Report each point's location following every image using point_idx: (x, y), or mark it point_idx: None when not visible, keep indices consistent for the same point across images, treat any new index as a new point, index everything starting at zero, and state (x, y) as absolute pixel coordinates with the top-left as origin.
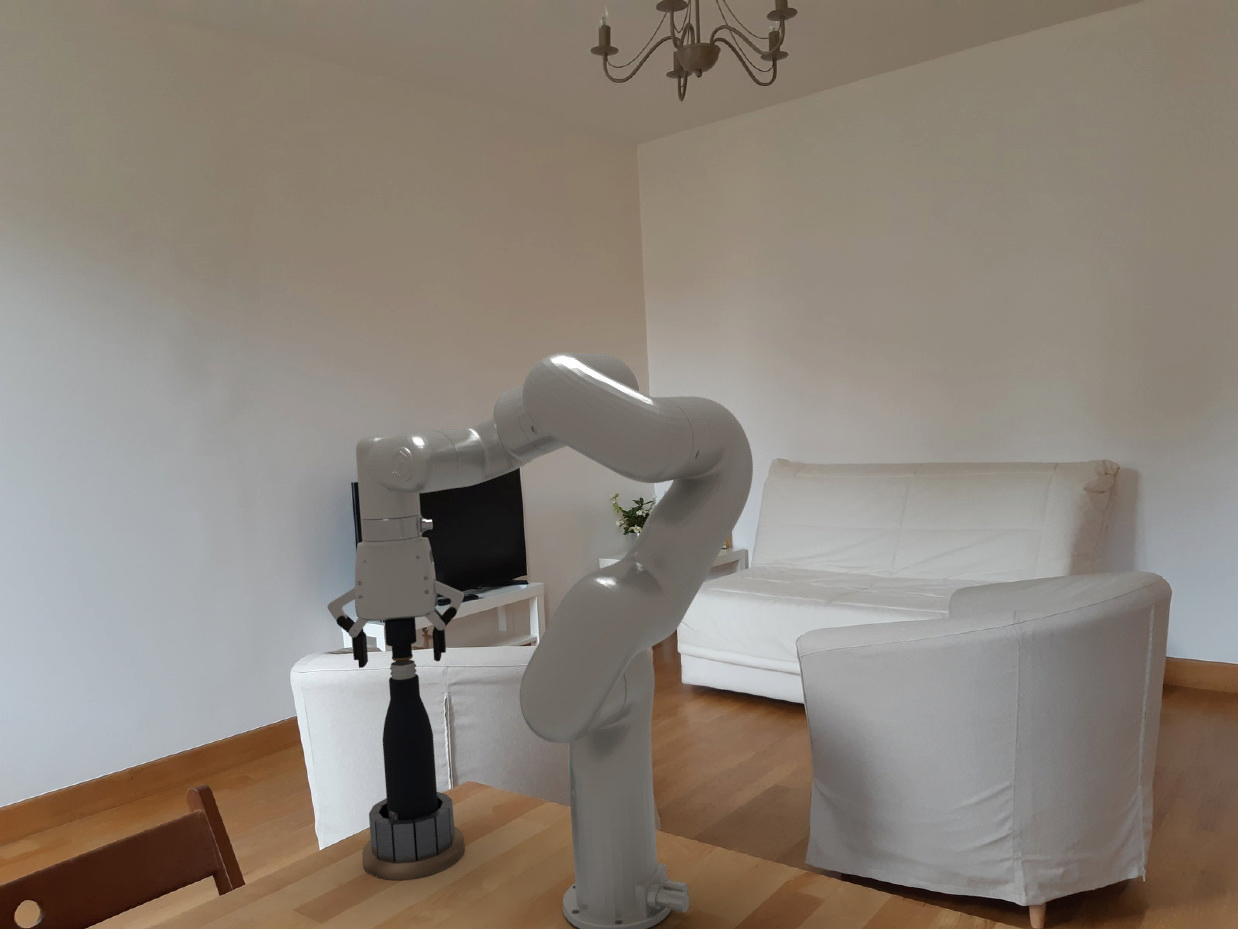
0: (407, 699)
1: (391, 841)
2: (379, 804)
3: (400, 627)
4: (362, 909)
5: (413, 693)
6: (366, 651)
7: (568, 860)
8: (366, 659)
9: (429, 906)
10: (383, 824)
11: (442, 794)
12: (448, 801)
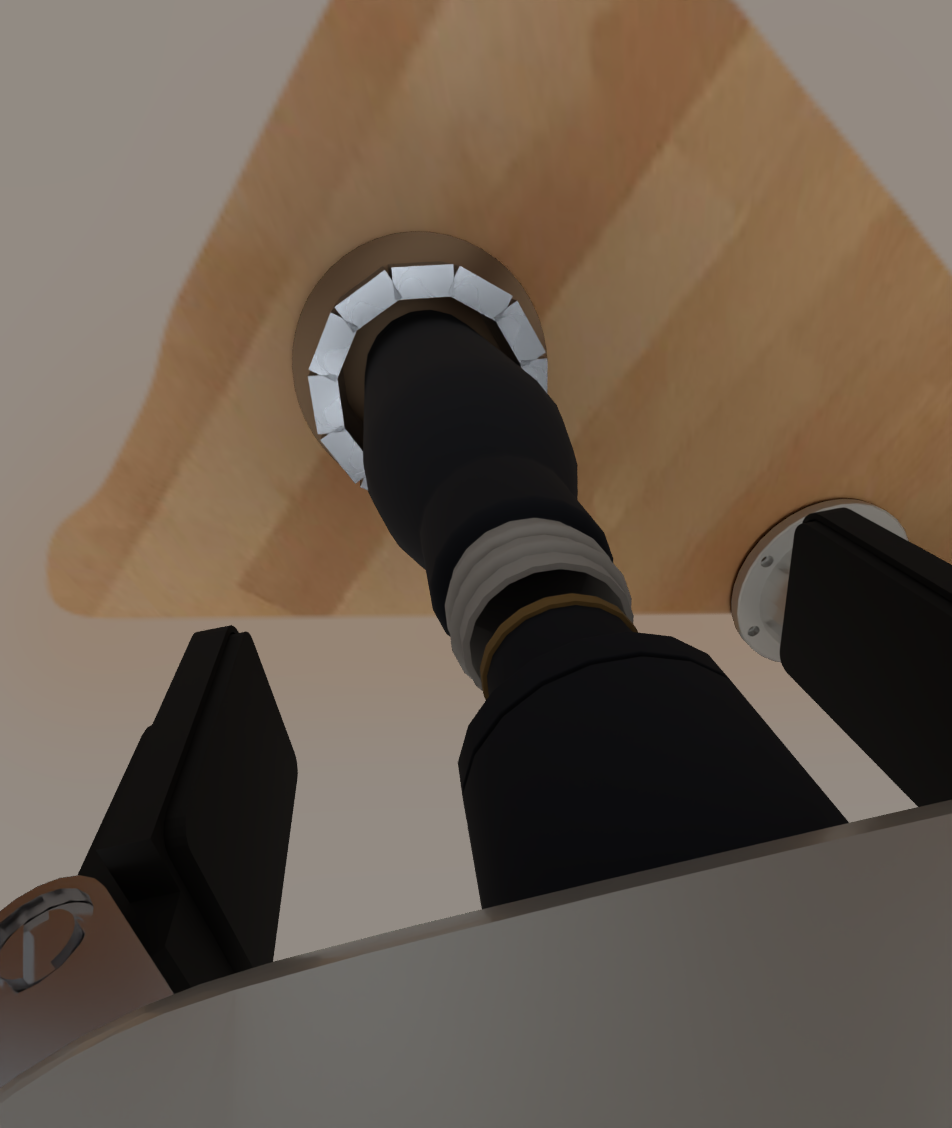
0: (529, 597)
1: None
2: (324, 367)
3: None
4: (381, 586)
5: (564, 587)
6: (243, 723)
7: (763, 416)
8: (263, 703)
9: None
10: None
11: (510, 307)
12: (537, 364)
